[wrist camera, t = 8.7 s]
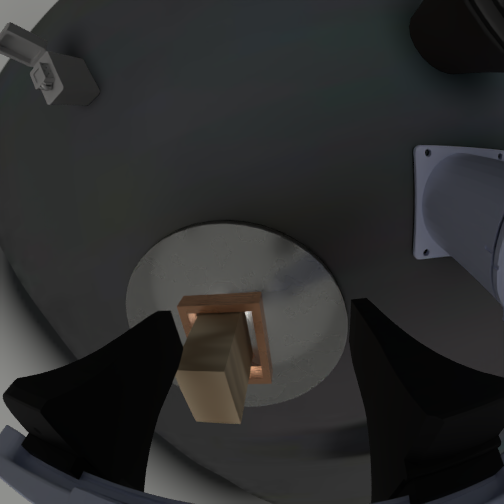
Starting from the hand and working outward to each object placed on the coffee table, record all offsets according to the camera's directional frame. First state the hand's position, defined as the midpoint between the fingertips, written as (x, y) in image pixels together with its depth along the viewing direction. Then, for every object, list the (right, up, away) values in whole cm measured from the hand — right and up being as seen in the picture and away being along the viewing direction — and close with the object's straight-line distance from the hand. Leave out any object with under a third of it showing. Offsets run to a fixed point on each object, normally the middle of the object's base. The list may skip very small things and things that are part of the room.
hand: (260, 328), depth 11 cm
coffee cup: (+13, +18, +2) cm, 22 cm away
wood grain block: (-2, -3, +11) cm, 11 cm away
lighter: (-14, +17, +5) cm, 23 cm away
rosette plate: (-2, -3, +12) cm, 12 cm away
